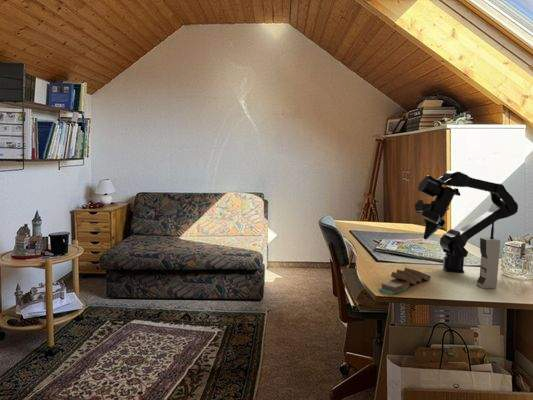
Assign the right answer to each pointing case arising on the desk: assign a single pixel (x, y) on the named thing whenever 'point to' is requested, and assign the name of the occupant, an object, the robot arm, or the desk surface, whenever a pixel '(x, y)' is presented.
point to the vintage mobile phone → (489, 260)
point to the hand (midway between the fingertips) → (424, 239)
